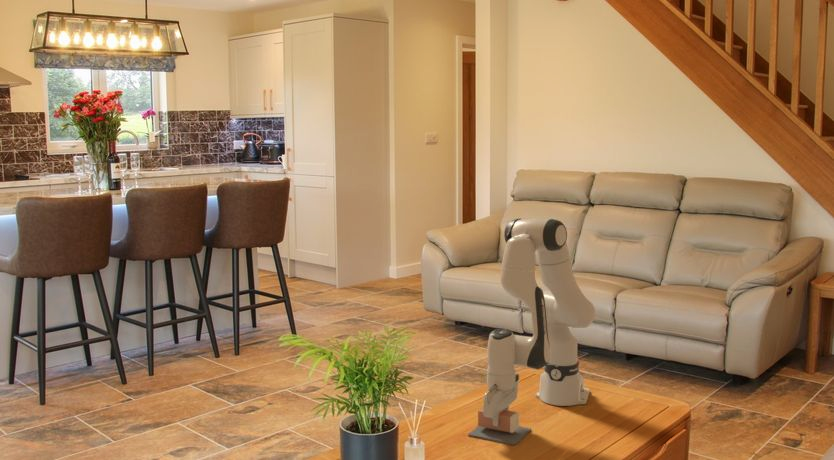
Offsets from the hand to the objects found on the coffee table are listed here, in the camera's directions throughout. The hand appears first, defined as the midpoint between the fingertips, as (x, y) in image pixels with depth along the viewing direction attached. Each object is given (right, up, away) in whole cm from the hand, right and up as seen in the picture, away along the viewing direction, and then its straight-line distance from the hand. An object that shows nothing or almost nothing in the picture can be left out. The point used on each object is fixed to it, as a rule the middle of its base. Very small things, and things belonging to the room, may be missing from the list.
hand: (500, 422), depth 254 cm
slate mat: (0, -4, 0) cm, 4 cm away
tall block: (-6, +1, +3) cm, 7 cm away
